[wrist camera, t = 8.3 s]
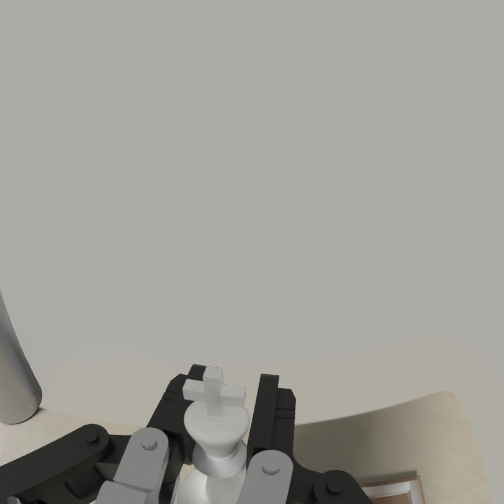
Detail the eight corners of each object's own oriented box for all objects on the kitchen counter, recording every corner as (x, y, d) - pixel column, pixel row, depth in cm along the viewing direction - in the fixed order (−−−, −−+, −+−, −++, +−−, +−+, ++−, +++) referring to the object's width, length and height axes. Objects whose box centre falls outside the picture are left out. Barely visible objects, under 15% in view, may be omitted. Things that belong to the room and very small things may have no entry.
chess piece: (189, 459, 13) (159, 314, 10) (277, 470, 13) (304, 328, 9) (167, 529, 8) (88, 418, 5) (270, 545, 8) (311, 459, 5)
